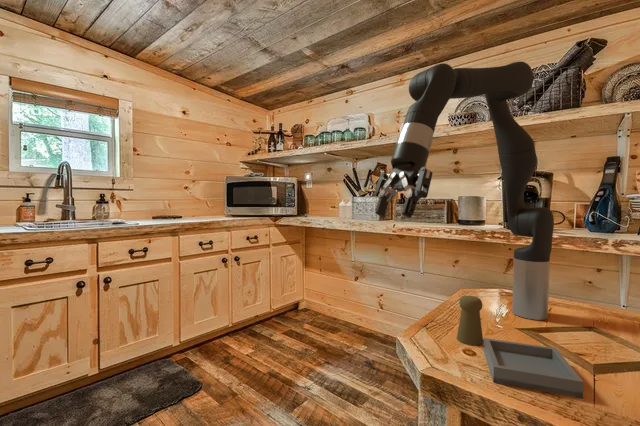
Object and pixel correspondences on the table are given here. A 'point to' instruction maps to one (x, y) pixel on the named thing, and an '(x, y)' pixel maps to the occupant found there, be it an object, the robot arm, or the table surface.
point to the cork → (470, 321)
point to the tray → (531, 367)
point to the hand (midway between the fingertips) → (392, 215)
